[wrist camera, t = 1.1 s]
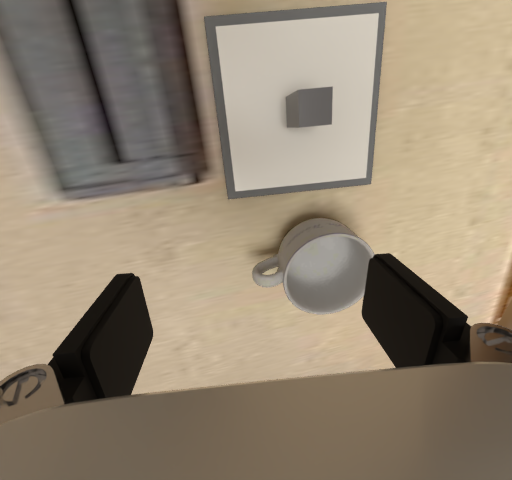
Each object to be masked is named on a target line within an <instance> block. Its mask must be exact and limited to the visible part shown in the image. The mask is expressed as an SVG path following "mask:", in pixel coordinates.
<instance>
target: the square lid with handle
mask: <svg viewBox="0 0 512 480" xmlns="http://www.w3.org/2000/svg"><path fill="white" fill-rule="evenodd" d="M378 18H379V13H373V14H361V15H349V16H337V17H325V18H312V19H300V20H288V21H276V22H264V23H252V24H240V25H228V26H216V35H217V43H218V51H219V60H220V68H221V76H222V84H223V93H224V101H225V109H226V118H227V126H228V134H229V142H230V151H231V159H232V167H233V176H234V184H235V191H245V190H254V189H264V188H274V187H283V186H293V185H302V184H312V183H321V182H331V181H340V180H350V179H359V178H366V172H367V159H368V146H369V134H370V121H371V108H372V95H373V82H374V69H375V57H376V44H377V31H378Z"/></svg>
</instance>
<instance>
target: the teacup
mask: <svg viewBox="0 0 512 480" xmlns="http://www.w3.org/2000/svg"><path fill="white" fill-rule="evenodd" d="M374 255H375V254H374V252H373V251H372V249H371V248H370V246H369V245H368V244H367V243H366V242H365V241H363V240H362V239H361V238H359V237H358V236H357V235H356V234H355V233H354V232H352V231H351V230H350V229H349V228H347V227H346V226H345V225H343V224H341V223H340V222H337V221H335V220H332V219H327V218H315V219H310V220H307V221H304V222H302V223H300V224H298V225H296V226H295V227H294V228H292V229H291V230H290V231H289V232H288V233H287V235H286V236H285V237H284V239H283V241H282V243H281V245H280V248H279V253H278V254H275V255H274V256H273V257H271V258H269V259H266V260H264V261H262V262H260V263H258V264H257V265H256V266H255V267H254V268H253V272H252V275H253V280H254V282H255V283H256V284H257V285H259V286H262V287H274V286H276V285H278V284H280V283H283V285H284V290H285V293H286V295H287V297H288V299H289V300H290V301H291V302H292V304H293V305H295V306H296V307H297V308H299V309H300V310H302V311H305V312H308V313H312V314H331V313H335V312H339V311H341V310H344V309H346V308H348V307H350V306H352V305H353V304H355V303H356V302H357V301H359V300H360V299H361V298H362V297H363V296H364V292H365V285H366V278H367V271H368V264H369V260H370V259H371V258H373V256H374ZM275 267H279V268H278V270H277V272H276V273H275V274H272V275H263V274H262V273H264V272H265V271H267V270H269V269H272V268H275Z"/></svg>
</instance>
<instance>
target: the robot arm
mask: <svg viewBox="0 0 512 480" xmlns="http://www.w3.org/2000/svg"><path fill="white" fill-rule="evenodd" d="M362 317H363V319H364V321H365V322H366V324H367V325H368V327H369V328H370V330H371V331H372V333H373V334H374V336H375V337H376V339H377V340H378V342H379V343H380V345H381V346H382V348H383V349H384V351H385V352H386V354H387V355H388V357H389V358H390V360H391V361H392V362H393V364H394V365H395V367H396V368H390V369H379V370H369V371H358V372H348V373H337V374H327V375H317V376H307V377H297V378H287V379H277V380H267V381H257V382H247V383H237V384H228V385H219V386H209V387H200V388H190V389H181V390H172V391H162V392H153V393H144V394H135V395H131V393H132V390H133V388H134V385H135V383H136V380H137V377H138V375H139V372H140V370H141V367H142V364H143V362H144V359H145V357H146V354H147V351H148V349H149V346H150V344H151V341H152V338H153V328H152V324H151V320H150V317H149V313H148V309H147V305H146V301H145V297H144V293H143V289H142V285H141V282H140V278H139V277H138V276H135V275H134V274H133V273H127V274H117V275H116V276H115V277H114V278H113V279H112V280H111V282H110V283H109V284H108V286H107V287H106V288H105V289H104V291H103V292H102V293H101V294H100V296H99V297H98V298H97V299H96V301H95V302H94V303H93V304H92V306H91V307H90V308H89V309H88V311H87V312H86V313H85V314H84V316H83V317H82V318H81V319H80V321H79V322H78V323H77V325H76V326H75V327H74V328H73V330H72V331H71V332H70V333H69V335H68V336H67V337H66V338H65V340H64V341H63V342H62V343H61V345H60V346H59V347H58V348H57V350H56V351H55V352H54V353H53V358H52V360H51V361H50V362H49V364H48V365H46V364H36V365H32V366H28V367H25V368H23V369H20V370H18V371H16V372H14V373H12V374H11V375H9V376H7V377H6V378H4V379H3V380H2V381H0V480H512V330H510V329H508V328H505V327H502V326H499V325H495V324H490V323H478V324H474V325H473V326H470V325H468V324H467V323H466V321H467V318H468V316H467V315H465V314H464V313H463V312H462V311H460V310H459V309H458V308H457V307H456V306H454V305H453V304H452V303H451V302H449V301H448V300H447V299H446V298H444V297H443V296H442V295H441V294H440V293H438V292H437V291H436V290H435V289H433V288H432V287H431V286H430V285H428V284H427V283H426V282H425V281H423V280H422V279H421V278H420V277H419V276H417V275H416V274H415V273H414V272H412V271H411V270H410V269H409V268H407V267H406V266H405V265H404V264H402V263H401V262H400V261H399V260H398V259H396V258H395V257H394V256H393V255H391V254H390V253H388V254H375V255H374V256H373V258H371V259H370V260H369V264H368V271H367V278H366V285H365V292H364V299H363V306H362Z"/></svg>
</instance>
